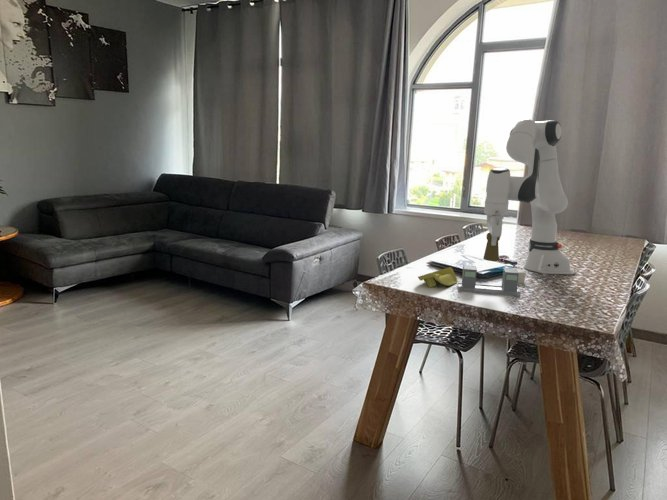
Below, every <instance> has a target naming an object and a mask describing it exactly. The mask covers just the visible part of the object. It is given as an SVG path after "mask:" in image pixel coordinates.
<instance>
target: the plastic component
mask: <svg viewBox="0 0 667 500" xmlns="http://www.w3.org/2000/svg"><path fill="white" fill-rule="evenodd" d="M417 278H418V280H419V281H423V282H424V283H426V285H427V287H428V288H432V287H435V286H437V282H438V283H440V284H441V285H442V286H446V287H447V286H448V287H449V286H452V285H455V284H458V278H457V276H456V274H455V272H454V269H453V267H452V266H451V267H446V268H443V269H442V268H441V269H439V270H435V271H433V272H430V273H425V274H422V275H420V276H417ZM436 281H437V282H436Z"/></svg>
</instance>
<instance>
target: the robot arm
mask: <svg viewBox="0 0 667 500" xmlns="http://www.w3.org/2000/svg"><path fill="white" fill-rule="evenodd" d="M562 131H563V129H562V126H561V123H560V122H559V121H557V120H554V119H548V120H541V121H539V120H538V121H534V120H533V119H530V118H524V119H520V120H519V121H518V122H517V123H516V124H515V126H514V127H512V129H511V130H510V132H509V137H508V139H507V143H506V149H505V150H506V152H507V154H508V156H509V157H510V158H511V159H512V160H513V161H515V162H518V163H522V164H523V165H526V166H528V168H527V175H525V176H513V175H512V176H511V171H510V170H511V169H509V168H506V167H495V168H492V169H490V170H489V173H488V176H487V181H486V188H485V193H486V198H485V201H484V210H483V214H485V215H486V228H487V230H488V233H490V234H491V236H492V239H491V245H492V246H495V245H496V241H497V237H500V238H501V237H502V231H503V219H504V216H507V215H508V213H509V212H508V211H509V202H510V201H513V202H515V201H516V202H521V203H526V204H530V208H531V220H532V221H531V223H532V224H531V233H530V234H531V235H530V239H529V242H528V249H527V250H528V253H527V258H526V261H525V263H524V266H523V268H524V269H525V270H528V271H531V272H535V273H539V274H545V275H546V274H547V275H575V273H576V271H575V269H574V268H573V267H571V262H570V258H569V257H568V256H567V255H565V254H564V253H563V252H562V251H561V250H560V249H562V248H563V245H562V244H561V243H559V242H557V241H556V240H557V231H558V223H557V220H556V214H557V215H558V214H560V213H563V212H564V211H565V210H566V209H567V207H568V205H569V200H568V197H567V195H566V193H565V191H564V189H563V188H564V187H563V185H562V182H561V177H560V172H559V171H560V170H559V163H558V153H557V152H558V150H557V146H556V144H558V143H559V142H560V141H561V138H562V135H563V134H562V133H563V132H562Z"/></svg>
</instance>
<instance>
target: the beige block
mask: <svg viewBox="0 0 667 500" xmlns="http://www.w3.org/2000/svg"><path fill="white" fill-rule="evenodd" d="M516 269H517V268H516ZM517 271H518V272H519V276H518V284H525V280H526V272H525V271H524V270H523V269H517Z"/></svg>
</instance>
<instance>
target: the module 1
mask: <svg viewBox="0 0 667 500" xmlns="http://www.w3.org/2000/svg"><path fill="white" fill-rule="evenodd" d="M477 272H478V269H477V266H476V265H469V264H468V265H467V264H463V266H462V276H461V282H462V288H468V289H475V285H476V284H477Z"/></svg>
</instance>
